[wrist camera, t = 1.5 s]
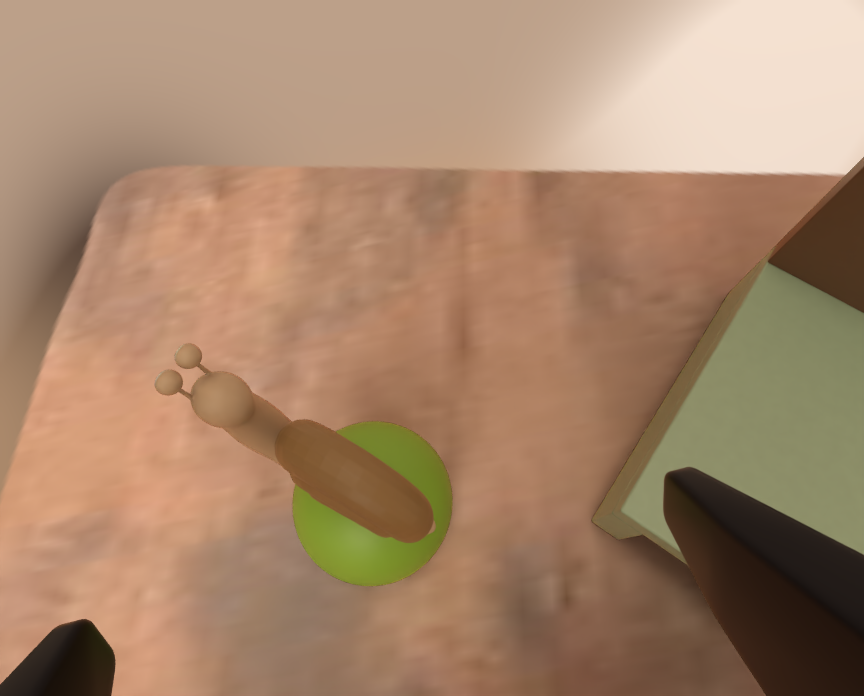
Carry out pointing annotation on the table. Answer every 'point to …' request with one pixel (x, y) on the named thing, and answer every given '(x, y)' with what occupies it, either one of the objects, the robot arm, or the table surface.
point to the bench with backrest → (770, 389)
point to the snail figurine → (336, 478)
